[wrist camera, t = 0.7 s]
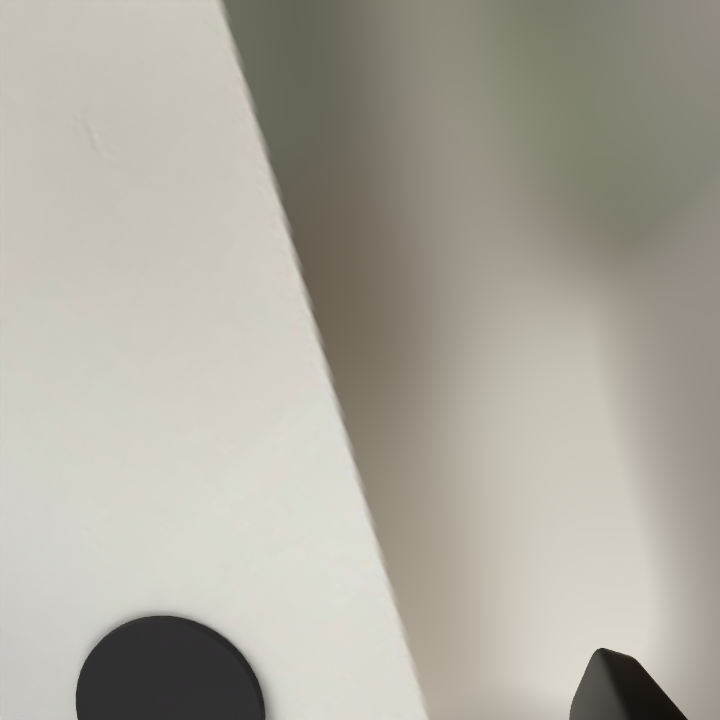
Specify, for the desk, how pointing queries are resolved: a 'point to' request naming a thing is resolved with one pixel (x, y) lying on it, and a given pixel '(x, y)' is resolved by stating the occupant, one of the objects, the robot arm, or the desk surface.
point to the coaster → (167, 675)
